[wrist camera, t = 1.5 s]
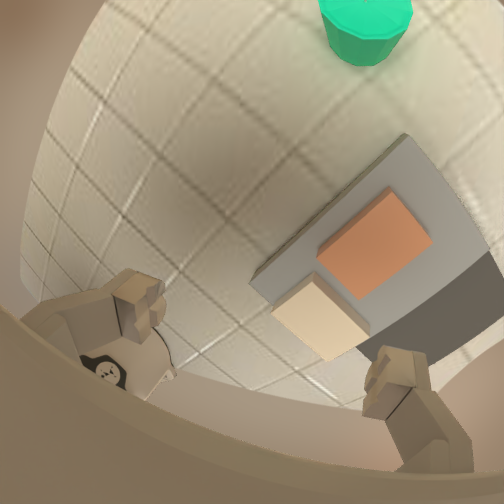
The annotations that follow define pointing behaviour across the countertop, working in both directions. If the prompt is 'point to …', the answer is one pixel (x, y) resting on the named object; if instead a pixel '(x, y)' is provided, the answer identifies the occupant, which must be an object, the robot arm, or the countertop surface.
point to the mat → (447, 315)
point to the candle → (365, 27)
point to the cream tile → (321, 318)
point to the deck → (410, 276)
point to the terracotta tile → (374, 244)
